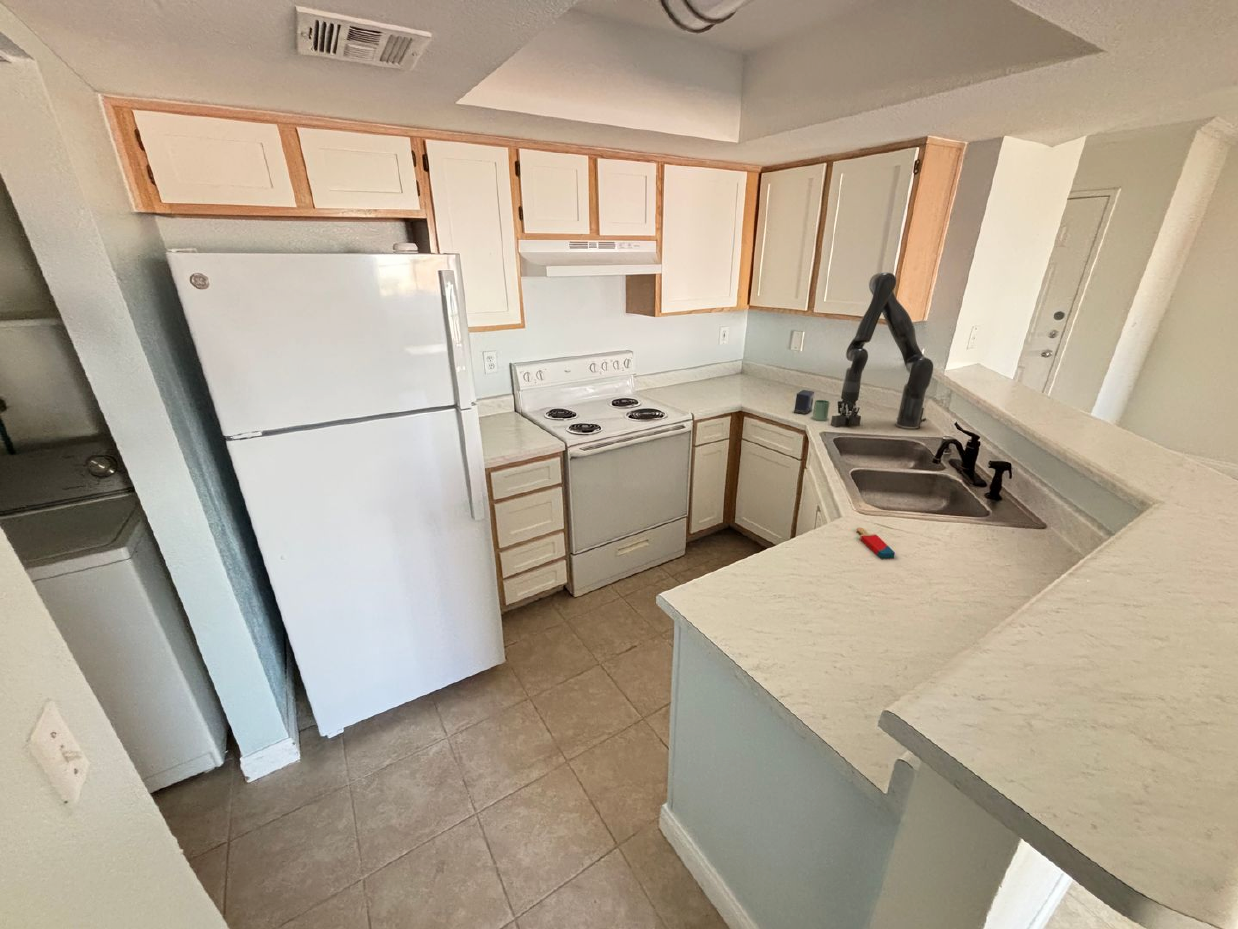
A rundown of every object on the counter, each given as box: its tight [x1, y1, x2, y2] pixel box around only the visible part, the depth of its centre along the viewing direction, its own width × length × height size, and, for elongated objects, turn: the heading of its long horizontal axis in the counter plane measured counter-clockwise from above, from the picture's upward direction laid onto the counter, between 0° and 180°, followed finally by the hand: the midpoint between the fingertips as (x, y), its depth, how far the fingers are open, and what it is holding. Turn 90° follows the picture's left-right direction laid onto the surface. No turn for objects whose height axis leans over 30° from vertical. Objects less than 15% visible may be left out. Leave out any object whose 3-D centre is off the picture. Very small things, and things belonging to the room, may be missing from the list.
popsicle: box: [856, 527, 896, 559], centre depth 141 cm, size 5×2×15 cm
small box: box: [793, 389, 815, 415], centre depth 264 cm, size 11×6×10 cm, turn 143°
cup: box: [812, 399, 831, 422], centre depth 251 cm, size 7×7×9 cm
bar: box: [830, 414, 862, 428], centre depth 242 cm, size 13×4×4 cm, turn 102°
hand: (845, 424), depth 243 cm, fingers closed on bar, 4 cm apart
